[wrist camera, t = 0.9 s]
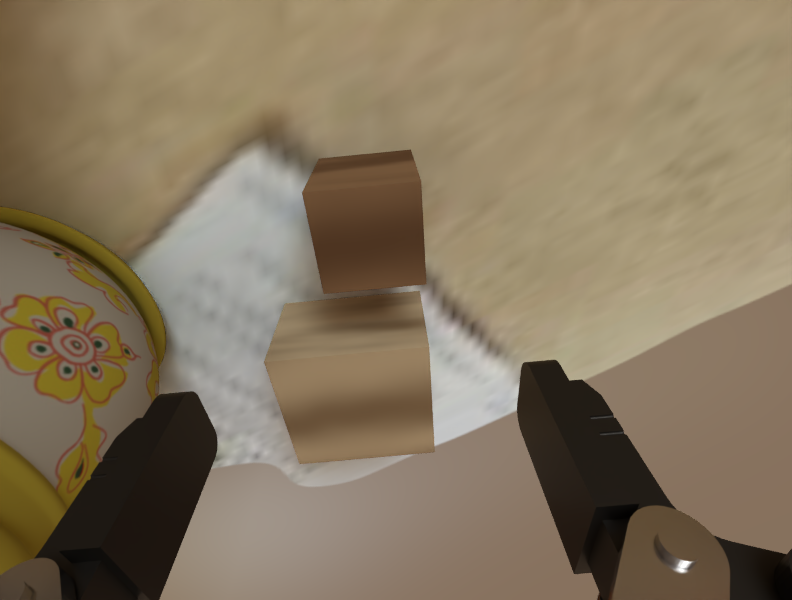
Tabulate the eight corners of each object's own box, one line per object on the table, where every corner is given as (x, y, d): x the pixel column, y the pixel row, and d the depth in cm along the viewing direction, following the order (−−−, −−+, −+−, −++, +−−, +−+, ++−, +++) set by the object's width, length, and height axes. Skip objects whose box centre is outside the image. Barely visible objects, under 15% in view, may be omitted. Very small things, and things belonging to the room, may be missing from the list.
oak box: (285, 302, 27) (264, 361, 22) (419, 289, 27) (429, 346, 22) (312, 397, 32) (299, 464, 27) (425, 386, 32) (434, 452, 27)
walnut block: (319, 158, 22) (302, 192, 17) (410, 149, 22) (421, 181, 17) (334, 242, 25) (323, 293, 19) (415, 234, 24) (426, 284, 19)
